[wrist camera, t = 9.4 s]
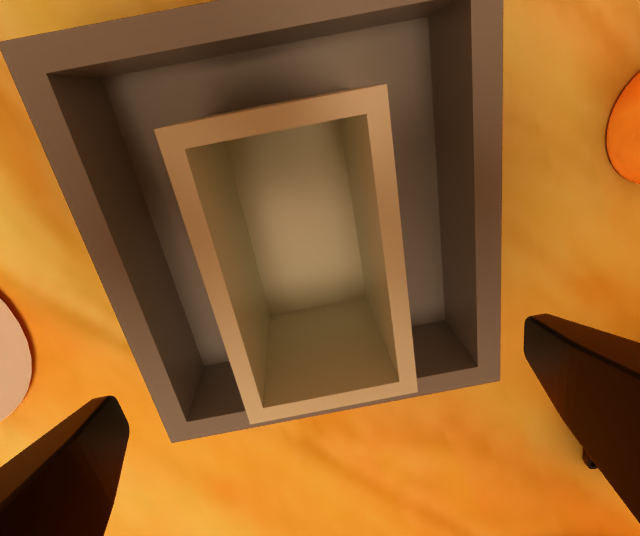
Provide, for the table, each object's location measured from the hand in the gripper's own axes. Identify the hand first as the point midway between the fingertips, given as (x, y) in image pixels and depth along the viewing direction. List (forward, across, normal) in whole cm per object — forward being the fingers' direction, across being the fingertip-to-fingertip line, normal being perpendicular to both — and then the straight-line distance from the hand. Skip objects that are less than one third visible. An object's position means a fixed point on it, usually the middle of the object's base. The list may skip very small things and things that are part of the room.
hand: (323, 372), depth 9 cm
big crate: (+12, 0, 0) cm, 12 cm away
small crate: (+11, 0, 0) cm, 11 cm away
